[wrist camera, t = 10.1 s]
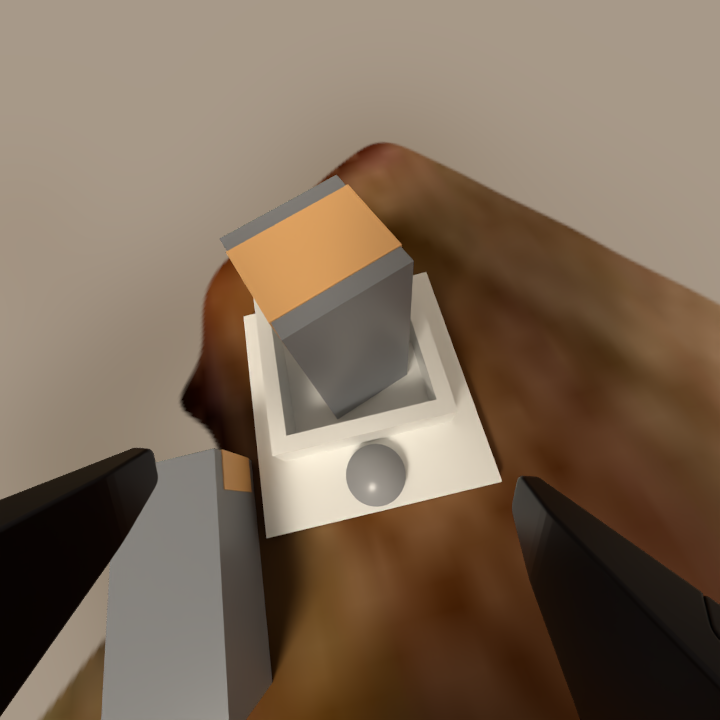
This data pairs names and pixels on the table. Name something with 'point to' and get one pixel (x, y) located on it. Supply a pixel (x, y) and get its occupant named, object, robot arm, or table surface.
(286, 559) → the table surface
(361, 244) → the orange and grey block
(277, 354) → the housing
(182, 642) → the jaw twin lying
